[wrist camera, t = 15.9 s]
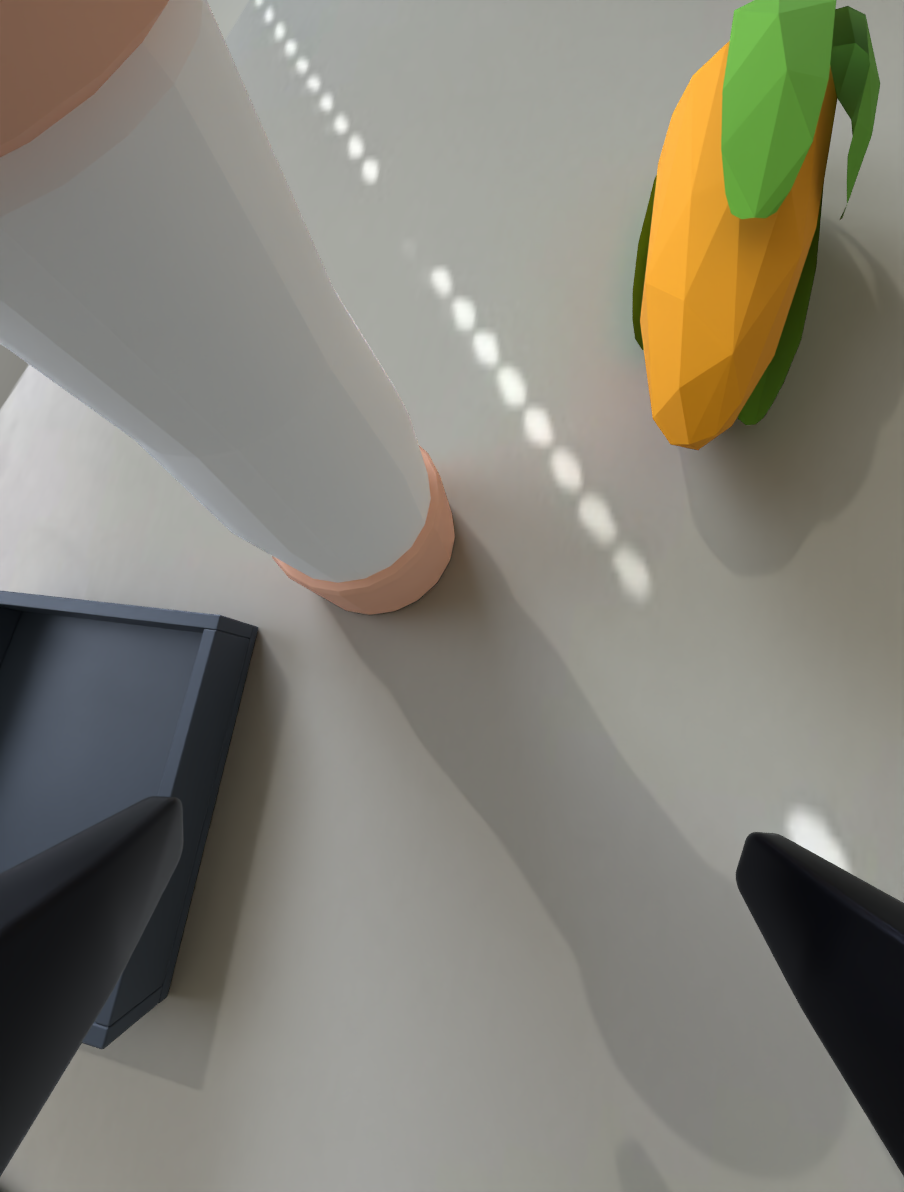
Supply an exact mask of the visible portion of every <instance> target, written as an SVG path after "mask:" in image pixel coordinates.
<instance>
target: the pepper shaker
mask: <svg viewBox="0 0 904 1192" xmlns="http://www.w3.org/2000/svg"><path fill="white" fill-rule="evenodd" d="M0 344H2V345H3V346H4V347H6V348H7V349H9V350H10V351H11V352H13V353H14V354H16V355H17V356H18V357H20V358H21V359H23V360H24V361H25V362H27V363H28V364H29V365H31V366H32V367H34V368H35V369H36V370H38V371H39V372H41V373H42V374H43V375H45V376H46V377H48V378H49V379H50V380H52V381H53V382H55V383H56V384H57V385H59V386H60V387H62V388H63V389H64V390H66V391H67V392H68V393H70V394H71V395H73V396H74V397H75V398H77V399H78V400H80V401H81V402H82V403H84V404H85V405H87V406H88V407H89V408H91V409H92V410H94V411H95V412H96V413H98V414H99V415H101V416H102V417H103V418H105V419H106V420H108V421H109V422H110V423H112V424H113V425H114V426H116V427H117V428H119V429H120V430H121V431H123V432H124V433H126V434H127V435H128V436H130V437H131V438H133V439H134V440H135V441H136V442H137V443H138V444H139V445H140V446H141V447H142V448H143V449H144V450H146V451H147V452H148V453H149V454H150V455H151V456H152V457H153V458H154V459H155V460H156V461H157V462H158V463H159V464H160V465H161V466H162V467H163V468H164V469H165V470H167V471H168V472H169V473H170V474H171V475H172V476H173V477H174V478H175V479H176V480H177V481H178V482H179V483H180V484H181V485H182V486H183V487H184V488H185V489H186V490H187V491H189V492H190V493H191V494H192V495H193V496H194V497H195V498H196V499H197V500H198V501H199V502H200V503H201V504H202V505H203V506H204V507H205V508H206V509H207V510H208V511H210V512H211V513H212V514H213V515H214V516H215V517H216V518H217V519H218V520H219V521H220V522H221V523H222V524H223V525H224V526H225V527H226V528H227V529H228V530H229V531H230V532H232V533H233V534H235V535H237V536H238V537H240V538H242V539H244V540H245V541H247V542H249V543H251V544H252V545H254V546H256V547H258V548H260V549H261V550H263V551H265V552H267V553H268V554H270V555H272V558H273V559H274V560H275V562H276V563H277V564H278V565H279V566H280V568H281V569H282V570H283V571H284V572H285V574H286V575H287V576H288V577H289V578H290V579H292V580H293V581H295V582H297V583H299V584H300V585H302V586H304V587H306V588H307V589H309V590H311V591H313V592H314V593H316V594H318V595H319V596H321V597H323V598H325V599H326V600H328V601H330V602H332V603H333V604H335V605H337V606H339V607H341V608H342V609H344V610H346V611H351V612H356V613H362V614H368V615H373V614H379V613H386V612H393V611H396V610H399V609H401V608H403V607H405V606H407V605H409V604H411V603H413V602H415V601H417V600H419V599H420V598H421V597H422V596H423V595H424V594H425V593H426V592H427V591H428V590H430V589H431V588H432V587H433V586H434V585H435V584H436V583H437V582H438V580H439V579H440V577H441V575H442V573H443V572H444V570H445V568H446V566H447V565H448V563H449V561H450V558H451V553H452V549H453V544H454V539H455V533H454V525H453V517H452V512H451V509H450V506H449V503H448V500H447V496H446V493H445V490H444V487H443V484H442V481H441V478H440V475H439V473H438V471H437V469H436V468H435V466H434V464H433V462H432V460H431V458H430V456H429V454H428V453H427V452H426V451H425V450H424V449H423V448H422V447H420V446H419V444H418V441H417V438H416V435H415V432H414V428H413V425H412V422H411V419H410V416H409V413H408V411H407V409H406V407H405V405H404V404H403V402H402V400H401V398H400V396H399V394H398V392H397V390H396V388H395V387H394V385H393V383H392V382H391V380H390V379H389V377H388V375H387V374H386V372H385V370H384V369H383V367H382V366H381V364H380V362H379V361H378V359H377V358H376V356H375V354H374V353H373V351H372V349H371V348H370V346H369V345H368V343H367V341H366V340H365V338H364V336H363V335H362V333H361V332H360V330H359V328H358V327H357V325H356V324H355V322H354V320H353V319H352V317H351V315H350V314H349V312H348V311H347V309H346V307H345V306H344V304H343V302H342V301H341V299H340V298H339V296H338V294H337V293H336V291H335V290H334V288H333V286H332V283H331V281H330V279H329V277H328V274H327V272H326V270H325V267H324V265H323V263H322V261H321V258H320V256H319V254H318V252H317V249H316V247H315V245H314V242H313V240H312V238H311V236H310V233H309V231H308V229H307V227H306V224H305V222H304V220H303V217H302V215H301V213H300V211H299V208H298V206H297V204H296V202H295V199H294V197H293V195H292V193H291V190H290V188H289V186H288V183H287V181H286V179H285V177H284V174H283V172H282V170H281V168H280V165H279V163H278V161H277V158H276V156H275V154H274V152H273V149H272V147H271V145H270V143H269V140H268V138H267V136H266V133H265V131H264V129H263V127H262V124H261V122H260V120H259V118H258V115H257V113H256V111H255V108H254V106H253V104H252V102H251V99H250V97H249V95H248V93H247V90H246V88H245V86H244V83H243V81H242V79H241V77H240V74H239V72H238V70H237V68H236V65H235V63H234V61H233V58H232V56H231V54H230V52H229V49H228V47H227V45H226V43H225V40H224V38H223V36H222V34H221V31H220V29H219V27H218V24H217V22H216V20H215V18H214V15H213V13H212V11H211V9H210V6H209V4H208V2H207V0H0Z"/></svg>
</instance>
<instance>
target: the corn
mask: <svg viewBox="0 0 904 1192" xmlns="http://www.w3.org/2000/svg"><path fill="white" fill-rule="evenodd" d="M835 7H836V0H754V1H752V2H750V3H748V4H746V5H744V6H742V7H740V8H738V9H737V10H735V11H734V16H733V23H732V30H731V36H730V41H729V42H728V43H727V44H726V45H725V46H724V47H722V48H721V49H720V50H719V51H718V52H717V53H716V54H715V55H714V56H713V57H712V58H711V59H710V60H709V61H708V62H707V63H706V64H705V65H703V66H702V67H701V68H700V69H699V70H698V71H697V72H696V73H695V74H694V75H693V76H692V78H691V80H690V82H689V84H688V86H687V88H686V90H685V91H684V93H683V95H682V97H681V99H680V101H679V103H678V105H677V107H676V109H675V110H674V112H673V114H672V118H671V121H670V125H669V128H668V132H667V135H666V139H665V142H664V146H663V149H662V152H661V156H660V159H659V163H658V170H657V176H656V178H655V180H654V184H653V188H652V192H651V196H650V200H649V204H648V208H647V212H646V215H645V219H644V223H643V227H642V231H641V235H640V239H639V243H638V251H637V260H636V268H635V277H634V285H633V326H634V333H635V339H636V341H637V342H638V344H639V345H640V347H641V348H642V350H644V355H645V363H646V371H647V378H648V386H649V393H650V401H651V408H652V416H653V420H654V421H655V422H656V424H657V425H658V427H659V428H660V430H661V431H662V432H663V434H664V435H665V437H666V438H667V440H668V441H669V443H670V444H671V445H676V446H681V447H685V448H690V449H695V450H699V449H700V448H702V447H703V446H704V445H706V444H707V443H709V442H710V441H711V440H713V439H714V438H716V437H717V436H718V435H720V434H721V433H723V432H724V431H725V430H727V429H728V428H730V427H731V426H732V425H733V423H734V422H735V420H736V418H737V417H738V419H739V420H740V421H742V422H743V423H744V424H745V425H754V424H756V423H758V422H759V421H760V420H761V419H763V418H764V416H765V415H766V413H767V412H768V410H769V409H770V407H771V405H772V404H773V402H774V400H775V398H776V396H777V394H778V392H779V390H780V389H781V387H782V385H783V383H784V380H785V378H786V375H787V373H788V371H789V368H790V366H791V363H792V361H793V358H794V356H795V353H796V351H797V349H798V346H799V344H800V341H801V338H802V333H803V328H804V323H805V319H806V314H807V309H808V304H809V300H810V295H811V290H812V285H813V280H814V276H815V271H816V264H817V253H818V241H819V230H820V218H821V207H822V195H823V184H824V177H825V171H826V165H827V159H828V152H829V146H830V140H831V134H832V128H833V122H834V116H835V110H836V104H837V98H838V100H839V101H840V103H841V104H842V106H843V108H844V109H845V111H846V112H847V114H848V115H849V117H850V119H851V121H852V134H853V138H852V142H851V146H850V149H849V153H848V166H847V203H848V200H849V198H850V195H851V192H852V189H853V186H854V184H855V181H856V178H857V175H858V172H859V170H860V167H861V164H862V161H863V158H864V155H865V153H866V150H867V147H868V144H869V141H870V139H871V136H872V131H873V125H874V119H875V113H876V106H877V100H878V94H879V88H880V80H879V76H878V71H877V66H876V62H875V57H874V52H873V48H872V43H871V38H870V34H869V29H868V24H867V20H866V15H865V14H863V13H861V12H859V11H857V10H855V9H853V8H851V7H849V6H846V7H843V8H839V9H835ZM846 206H847V205H846ZM845 209H846V208H845ZM844 212H845V210H844ZM844 212H843V214H844ZM843 214H842V216H841V218H840V219H842V217H843Z"/></svg>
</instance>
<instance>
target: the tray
mask: <svg viewBox="0 0 904 1192" xmlns="http://www.w3.org/2000/svg"><path fill="white" fill-rule="evenodd" d="M257 631H258V627H256V626H252V625H250V624H247V623H243V622H240V621H237V620H234V619H231V618H228V617H224V616H221V615H214V614H205V613H196V612H187V611H178V610H169V609H160V608H151V607H142V606H133V605H124V604H115V603H106V602H98V601H89V600H80V599H71V598H62V597H53V596H44V595H35V594H26V593H17V592H8V591H0V873H2V872H4V871H6V870H8V869H10V868H12V867H14V866H16V865H18V864H20V863H22V862H23V861H25V860H27V859H29V858H31V857H33V856H35V855H37V854H39V853H41V852H43V851H45V850H47V849H48V848H50V847H52V846H54V845H56V844H58V843H60V842H62V841H64V840H66V839H68V838H70V837H72V836H73V835H75V834H77V833H79V832H81V831H83V830H85V829H87V828H89V827H91V826H93V825H95V824H97V823H98V822H100V821H102V820H104V819H106V818H108V817H110V816H112V815H114V814H116V813H118V812H120V811H122V810H123V809H125V808H127V807H129V806H131V805H133V804H135V803H137V802H139V801H141V800H143V799H145V798H147V797H150V796H165V797H176V798H178V799H180V800H181V803H182V808H183V850H182V854H181V857H180V860H179V862H178V864H177V866H176V868H175V870H174V872H173V874H172V876H171V878H170V880H169V882H168V884H167V886H166V888H165V890H164V892H163V894H162V896H161V898H160V900H159V902H158V904H157V906H156V908H155V910H154V912H153V914H152V916H151V918H150V920H149V922H148V924H147V926H146V928H145V930H144V932H143V934H142V936H141V938H140V940H139V942H138V944H137V946H136V948H135V949H134V951H133V953H132V955H131V957H130V959H129V961H128V963H127V965H126V967H125V969H124V971H123V973H122V975H121V977H120V979H119V980H118V982H117V984H116V986H115V988H114V990H113V991H112V993H111V995H110V996H109V998H108V1000H107V1002H106V1003H105V1005H104V1007H103V1008H102V1010H101V1012H100V1014H99V1015H98V1017H97V1018H96V1020H95V1022H94V1023H93V1025H92V1027H91V1028H90V1030H89V1032H88V1033H87V1035H86V1037H85V1038H84V1040H83V1041H82V1043H84V1044H87V1045H90V1046H93V1047H96V1048H99V1049H104V1048H105V1047H106V1046H108V1045H109V1044H110V1043H111V1042H112V1041H114V1040H115V1039H116V1038H117V1037H118V1036H120V1035H121V1034H122V1033H123V1032H125V1031H126V1030H127V1029H128V1028H129V1027H131V1026H132V1025H133V1024H134V1023H135V1022H137V1021H138V1020H139V1019H140V1018H141V1017H143V1016H144V1015H145V1014H146V1013H147V1012H149V1011H150V1010H151V1009H152V1008H154V1007H155V1006H156V1005H157V1004H158V1003H160V1002H161V1001H162V1000H164V999H165V998H166V997H167V995H168V991H169V987H170V983H171V979H172V975H173V971H174V967H175V963H176V958H177V954H178V950H179V946H180V942H181V938H182V934H183V930H184V926H185V922H186V918H187V914H188V910H189V906H190V902H191V898H192V894H193V890H194V886H195V882H196V878H197V874H198V869H199V865H200V861H201V857H202V853H203V849H204V845H205V841H206V837H207V833H208V829H209V825H210V821H211V817H212V813H213V809H214V805H215V801H216V797H217V793H218V789H219V785H220V781H221V776H222V772H223V768H224V764H225V760H226V756H227V752H228V748H229V744H230V740H231V736H232V732H233V728H234V724H235V720H236V716H237V712H238V708H239V704H240V700H241V696H242V692H243V688H244V683H245V679H246V675H247V671H248V667H249V663H250V659H251V655H252V651H253V647H254V643H255V639H256V635H257Z"/></svg>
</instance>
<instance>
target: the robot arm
mask: <svg viewBox="0 0 904 1192" xmlns="http://www.w3.org/2000/svg"><path fill="white" fill-rule="evenodd" d="M182 850H183V808H182V803H181V800H180V799H178V798H176V797H165V796H150V797H147V798H145V799H143V800H141V801H139V802H137V803H135V804H133V805H131V806H129V807H127V808H125V809H123V810H122V811H120V812H118V813H116V814H114V815H112V816H110V817H108V818H106V819H104V820H102V821H100V822H98V823H97V824H95V825H93V826H91V827H89V828H87V829H85V830H83V831H81V832H79V833H77V834H75V835H73V836H72V837H70V838H68V839H66V840H64V841H62V842H60V843H58V844H56V845H54V846H52V847H50V848H48V849H47V850H45V851H43V852H41V853H39V854H37V855H35V856H33V857H31V858H29V859H27V860H25V861H23V862H22V863H20V864H18V865H16V866H14V867H12V868H10V869H8V870H6V871H4V872H2V873H0V1176H1V1175H2V1173H3V1171H4V1170H5V1168H6V1166H7V1165H8V1163H9V1162H10V1160H11V1158H12V1157H13V1155H14V1153H15V1152H16V1150H17V1148H18V1147H19V1145H20V1143H21V1142H22V1140H23V1139H24V1137H25V1135H26V1134H27V1132H28V1130H29V1129H30V1127H31V1125H32V1124H33V1122H34V1120H35V1119H36V1117H37V1115H38V1114H39V1112H40V1111H41V1109H42V1107H43V1106H44V1104H45V1102H46V1101H47V1099H48V1097H49V1096H50V1094H51V1092H52V1091H53V1089H54V1088H55V1086H56V1084H57V1083H58V1081H59V1079H60V1078H61V1076H62V1074H63V1073H64V1071H65V1069H66V1068H67V1066H68V1065H69V1063H70V1061H71V1060H72V1058H73V1056H74V1055H75V1053H76V1051H77V1050H78V1048H79V1046H80V1045H81V1043H82V1041H83V1040H84V1038H85V1037H86V1035H87V1033H88V1032H89V1030H90V1028H91V1027H92V1025H93V1023H94V1022H95V1020H96V1018H97V1017H98V1015H99V1014H100V1012H101V1010H102V1008H103V1007H104V1005H105V1003H106V1002H107V1000H108V998H109V996H110V995H111V993H112V991H113V990H114V988H115V986H116V984H117V982H118V980H119V979H120V977H121V975H122V973H123V971H124V969H125V967H126V965H127V963H128V961H129V959H130V957H131V955H132V953H133V951H134V949H135V948H136V946H137V944H138V942H139V940H140V938H141V936H142V934H143V932H144V930H145V928H146V926H147V924H148V922H149V920H150V918H151V916H152V914H153V912H154V910H155V908H156V906H157V904H158V902H159V900H160V898H161V896H162V894H163V892H164V890H165V888H166V886H167V884H168V882H169V880H170V878H171V876H172V874H173V872H174V870H175V868H176V866H177V864H178V862H179V860H180V857H181V854H182ZM736 882H737V885H738V889H739V891H740V893H741V895H742V897H743V899H744V901H745V902H746V904H747V906H748V908H749V910H750V912H751V914H752V916H753V918H754V920H755V922H756V923H757V925H758V927H759V929H760V931H761V933H762V935H763V937H764V939H765V941H766V943H767V944H768V946H769V948H770V950H771V952H772V954H773V956H774V958H775V960H776V962H777V964H778V965H779V967H780V969H781V971H782V973H783V975H784V977H785V979H786V981H787V983H788V984H789V986H790V988H791V990H792V992H793V994H794V996H795V997H796V999H797V1001H798V1003H799V1005H800V1006H801V1008H802V1010H803V1012H804V1013H805V1015H806V1017H807V1018H808V1020H809V1022H810V1023H811V1025H812V1027H813V1029H814V1030H815V1032H816V1033H817V1035H818V1037H819V1038H820V1040H821V1042H822V1043H823V1045H824V1047H825V1048H826V1050H827V1051H828V1053H829V1055H830V1056H831V1058H832V1060H833V1061H834V1063H835V1065H836V1066H837V1068H838V1069H839V1071H840V1073H841V1074H842V1076H843V1078H844V1079H845V1081H846V1083H847V1084H848V1086H849V1087H850V1089H851V1091H852V1092H853V1094H854V1096H855V1097H856V1099H857V1101H858V1102H859V1104H860V1106H861V1107H862V1109H863V1110H864V1112H865V1114H866V1115H867V1117H868V1119H869V1120H870V1122H871V1124H872V1125H873V1127H874V1128H875V1130H876V1132H877V1133H878V1135H879V1137H880V1138H881V1140H882V1142H883V1143H884V1145H885V1146H886V1148H887V1150H888V1151H889V1153H890V1155H891V1156H892V1158H893V1160H894V1161H895V1163H896V1164H897V1166H898V1168H899V1169H900V1171H901V1173H902V1174H903V1176H904V903H903V902H901V901H899V900H897V899H895V898H894V897H892V896H890V895H888V894H886V893H885V892H883V891H881V890H879V889H877V888H876V887H874V886H872V885H870V884H868V883H866V882H865V881H863V880H861V879H859V878H857V877H856V876H854V875H852V874H850V873H848V872H847V871H845V870H843V869H841V868H839V867H838V866H836V865H834V864H832V863H830V862H828V861H827V860H825V859H823V858H821V857H819V856H818V855H816V854H814V853H812V852H810V851H809V850H807V849H805V848H803V847H801V846H799V845H798V844H796V843H794V842H792V841H790V840H789V839H787V838H785V837H783V836H781V835H779V834H775V833H763V832H753V833H751V834H750V835H749V836H748V837H747V838H746V841H745V844H744V847H743V851H742V854H741V857H740V860H739V863H738V867H737V870H736Z"/></svg>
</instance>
